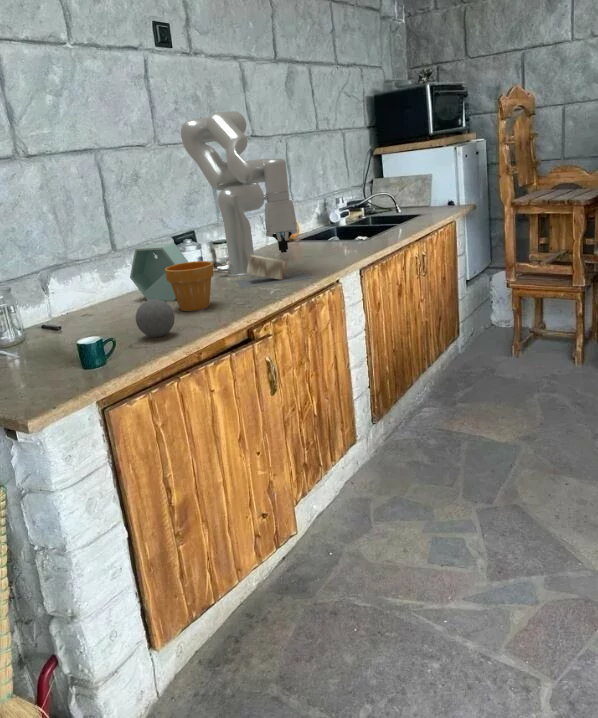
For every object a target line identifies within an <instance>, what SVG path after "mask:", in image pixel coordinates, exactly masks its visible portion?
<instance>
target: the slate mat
mask: <svg viewBox="0 0 598 718" xmlns="http://www.w3.org/2000/svg"><path fill="white" fill-rule="evenodd" d="M311 279H312V277H310V275H308V274H307V273H306V272H305V271H298V272H291V273H285V274H284V279H283V280H280V279H274V278H268V277H262V276H260V277H255V278H247V279H240V280H236V283H237V284H238V286H239V288H240V289H247V288H254V287H261V286H268V285H274V284H283V283H289V282H298V281H305V280H311Z"/></svg>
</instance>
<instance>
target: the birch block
mask: <svg viewBox="0 0 598 718" xmlns="http://www.w3.org/2000/svg"><path fill="white" fill-rule="evenodd" d="M286 267H287V262H286V261H285V260H284V259H280V258H275V257H269V256H268V257H267V256H262V255H258V254H257V255H256V254H254V255H251V254H250V255H249V261H248V267H247V273H248V274H250V275H249V276H256V277H268V278H274V279H280V280H283V279H284V274H286Z"/></svg>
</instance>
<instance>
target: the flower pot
mask: <svg viewBox="0 0 598 718" xmlns="http://www.w3.org/2000/svg"><path fill="white" fill-rule="evenodd" d="M165 272H166V277H167V281H168V282H170V283H171V286H172V288H173V291H174V294H175V297H176V301H177V304H178V307H179V309H180V310H181V311H182V312H183V311H184V312H194V311H195V310H196V311H199V310H204V308H205V309H206V308H207V309H208V308H209V306H210V301H211V288H212V286H211V285H212V278H213V277H214V274H215V273H214V264H213V262H211V261H206V260H201V261H200V260H199V261H188V262H186V263H180V264H176V265H172V266H169V267H167V268H166V269H165Z"/></svg>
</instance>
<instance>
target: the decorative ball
mask: <svg viewBox="0 0 598 718" xmlns="http://www.w3.org/2000/svg"><path fill="white" fill-rule="evenodd" d="M175 319H176V318H175V313H174V310H173V307H172V306H170V304H168V303H167V302H166V301H162V300H159V299H151V300H145V301H144V302H142V303H141V304H140V305H139V307H138V309H137V311H136V313H135V323H136V326H137V327H138V329H139V330H140V332H141V333H142V334H143V335H145V336H147V337H151V338H159V337H164V336H165V335H167V334H169V332H170V331H171V330H172V329H173V327H174V325H175V321H176V320H175Z"/></svg>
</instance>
